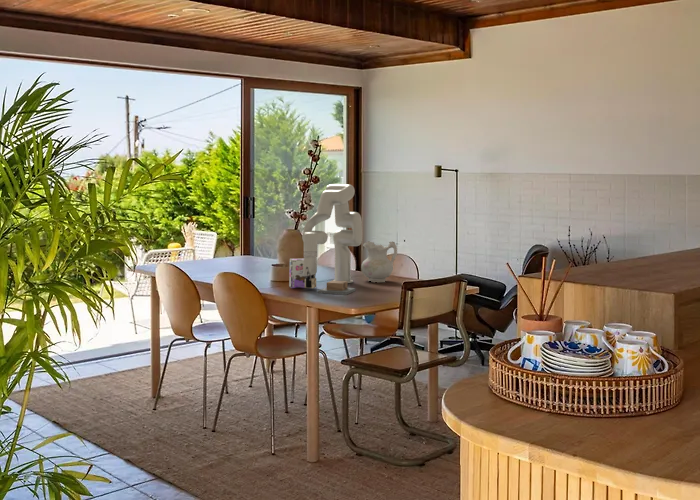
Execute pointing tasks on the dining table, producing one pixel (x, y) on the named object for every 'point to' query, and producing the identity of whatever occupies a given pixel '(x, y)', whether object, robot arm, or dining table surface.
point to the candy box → (296, 274)
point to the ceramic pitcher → (378, 262)
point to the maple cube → (312, 283)
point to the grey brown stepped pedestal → (337, 288)
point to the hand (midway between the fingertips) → (310, 286)
